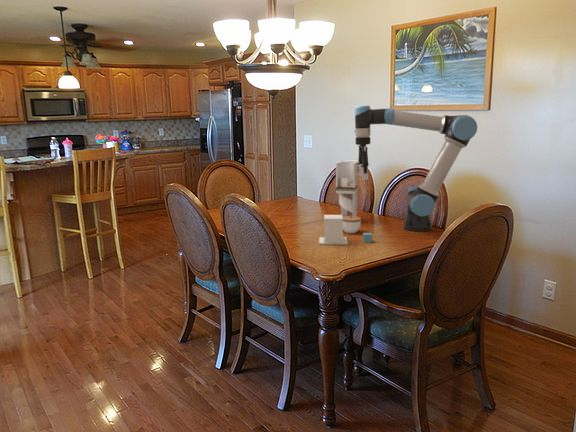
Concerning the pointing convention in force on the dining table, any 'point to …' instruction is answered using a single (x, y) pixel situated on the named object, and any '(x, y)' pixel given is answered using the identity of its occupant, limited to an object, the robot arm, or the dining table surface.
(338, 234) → the white block
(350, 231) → the lidded jar
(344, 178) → the display case
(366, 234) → the teal block
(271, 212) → the dining table surface
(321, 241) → the mat
